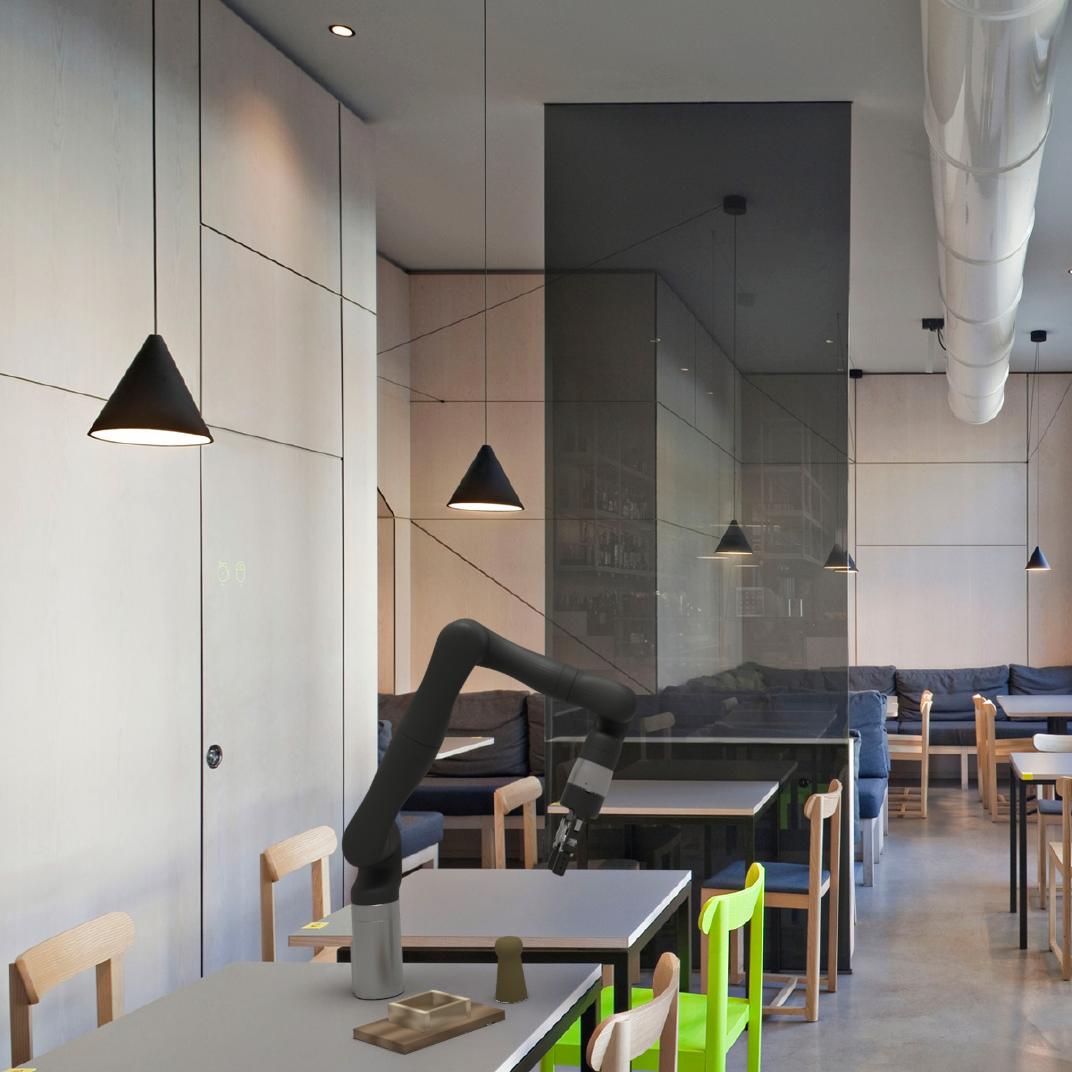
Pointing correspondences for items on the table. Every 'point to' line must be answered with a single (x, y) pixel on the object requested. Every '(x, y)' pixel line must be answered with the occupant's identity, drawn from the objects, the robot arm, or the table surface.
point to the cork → (510, 970)
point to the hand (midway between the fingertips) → (554, 872)
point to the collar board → (426, 1021)
